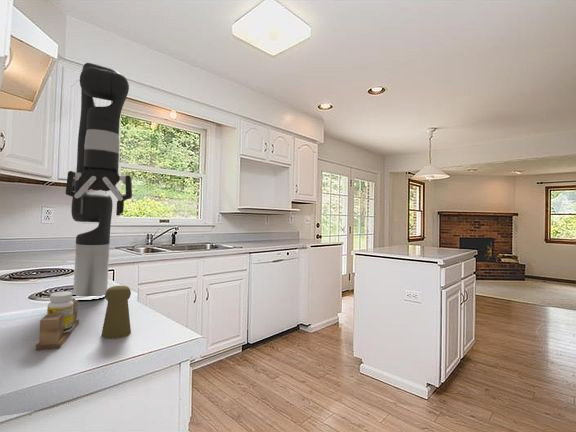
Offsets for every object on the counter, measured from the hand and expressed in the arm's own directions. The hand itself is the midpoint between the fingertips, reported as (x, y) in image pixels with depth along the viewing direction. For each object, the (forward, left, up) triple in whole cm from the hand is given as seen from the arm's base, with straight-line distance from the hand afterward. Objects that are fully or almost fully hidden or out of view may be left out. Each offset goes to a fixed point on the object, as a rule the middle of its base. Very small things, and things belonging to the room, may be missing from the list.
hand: (99, 214), depth 80 cm
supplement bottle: (+8, -5, -26) cm, 28 cm away
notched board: (+8, -5, -27) cm, 29 cm away
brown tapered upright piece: (+10, +6, -27) cm, 30 cm away
